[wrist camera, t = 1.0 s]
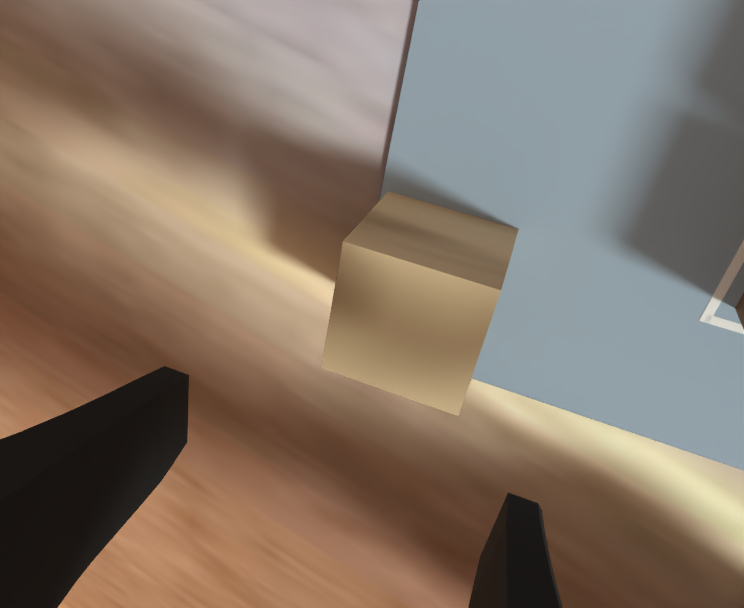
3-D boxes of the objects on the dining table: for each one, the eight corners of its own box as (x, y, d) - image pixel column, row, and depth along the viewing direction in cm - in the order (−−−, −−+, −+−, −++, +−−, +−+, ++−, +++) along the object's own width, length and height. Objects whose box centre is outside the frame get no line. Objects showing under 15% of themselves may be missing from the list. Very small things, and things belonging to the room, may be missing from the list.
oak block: (481, 340, 22) (458, 416, 19) (365, 302, 23) (321, 367, 19) (518, 229, 20) (500, 290, 16) (388, 191, 21) (342, 241, 17)
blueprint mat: (903, 521, 21) (906, 526, 21) (353, 335, 24) (351, 337, 24) (1404, 7, 12) (1416, 8, 12) (453, -166, 16) (452, -168, 16)
